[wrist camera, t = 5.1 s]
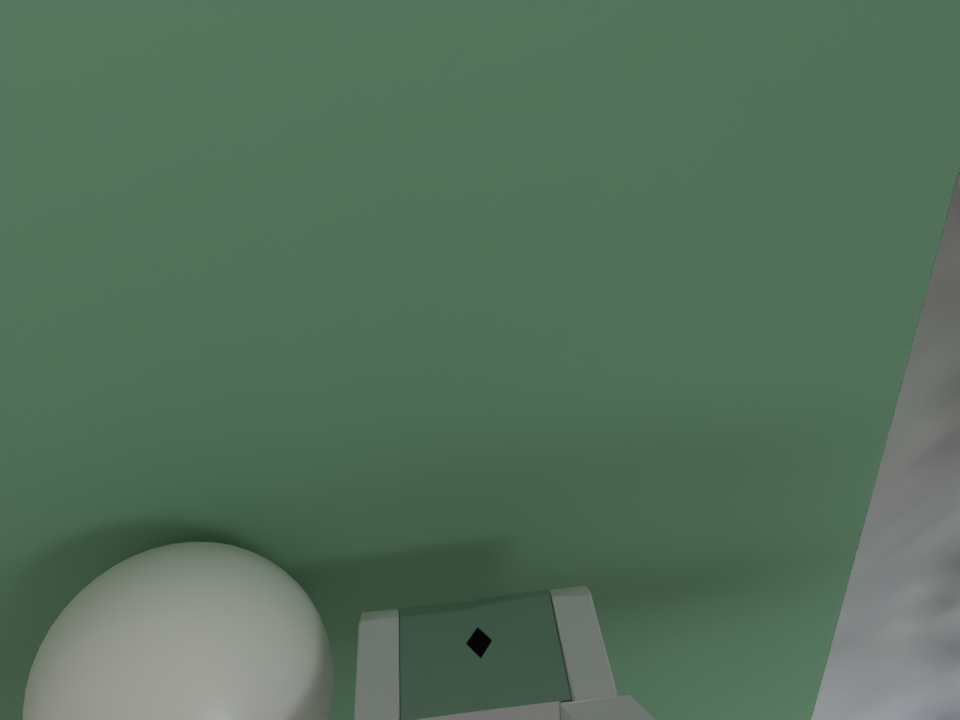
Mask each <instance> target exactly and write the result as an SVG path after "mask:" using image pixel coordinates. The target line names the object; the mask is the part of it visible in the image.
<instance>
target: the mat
mask: <svg viewBox="0 0 960 720" xmlns="http://www.w3.org/2000/svg"><path fill="white" fill-rule="evenodd" d="M959 169H960V0H0V720H23V705H24V697H25V690H26V686H27V682H28V678H29V674H30V671H31V667H32V665H33V662H34V660H35V657H36V655H37V652H38V650H39V648H40V646H41V644H42V642H43V640H44V638H45V637H46V635H47V633H48V631H49V629H50V628H51V626H52V625H53V623H54V622H55V621H56V619H57V618H58V616H59V615H60V614H61V612H62V611H63V610H64V608H65V607H66V606H67V605H68V604H69V603H70V602H71V601H72V600H73V599H74V598H75V596H76V595H77V594H78V593H79V592H80V591H82V590H83V589H84V588H85V587H86V586H87V585H89V584H90V583H91V582H92V581H93V580H94V579H96V578H97V577H98V576H100V575H101V574H103V573H104V572H106V571H107V570H109V569H110V568H112V567H113V566H115V565H117V564H119V563H120V562H122V561H124V560H126V559H128V558H130V557H132V556H134V555H137V554H139V553H142V552H145V551H147V550H150V549H153V548H157V547H161V546H165V545H169V544H175V543H184V542H214V543H221V544H228V545H233V546H236V547H240V548H243V549H247V550H249V551H251V552H254V553H256V554H258V555H260V556H262V557H265V558H266V559H268V560H270V561H271V562H273V563H274V564H276V565H277V566H279V567H280V568H282V569H283V570H284V571H285V572H287V573H288V574H289V575H290V576H291V577H292V578H293V579H294V580H295V581H296V582H297V583H298V584H299V585H300V586H301V587H302V588H303V590H304V591H305V592H306V594H307V595H308V596H309V598H310V599H311V601H312V602H313V604H314V606H315V607H316V609H317V611H318V613H319V615H320V617H321V620H322V622H323V625H324V628H325V630H326V633H327V636H328V640H329V644H330V649H331V654H332V662H333V691H332V702H331V707H330V712H329V717H328V720H354V714H355V693H356V672H357V651H358V630H359V622H360V618H361V614H362V612H371V611H380V610H389V609H398V608H400V609H401V608H406V607H417V606H427V605H437V604H447V603H458V602H468V601H475V599H481V598H488V597H496V596H503V595H510V594H517V593H525V592H532V591H539V590H546V589H547V590H548V592H549V590H553V589H561V588H569V587H577V586H585V585H586V586H587V588H588V589H589V591H590V592H591V596H592V600H593V604H594V607H595V611H596V615H597V619H598V623H599V626H600V630H601V634H602V638H603V641H604V645H605V649H606V653H607V656H608V660H609V664H610V668H611V671H612V675H613V679H614V683H615V687H616V690H617V694H618V695H628V694H630V695H631V696H632V697H633V698H634V699H635V700H636V701H637V702H638V703H639V704H640V705H641V706H642V707H643V708H644V709H645V710H646V711H648V712H649V713H650V714H651V715H652V716H653V717H654V718H655V719H656V720H811V718H812V714H813V710H814V706H815V703H816V699H817V695H818V692H819V688H820V684H821V681H822V677H823V673H824V669H825V666H826V662H827V658H828V655H829V651H830V647H831V643H832V640H833V636H834V632H835V629H836V625H837V621H838V618H839V614H840V610H841V606H842V603H843V599H844V595H845V592H846V588H847V584H848V580H849V577H850V573H851V569H852V566H853V562H854V558H855V555H856V551H857V547H858V543H859V540H860V536H861V532H862V529H863V525H864V521H865V517H866V514H867V510H868V506H869V503H870V499H871V495H872V491H873V488H874V484H875V480H876V477H877V473H878V469H879V466H880V462H881V458H882V454H883V451H884V447H885V443H886V440H887V436H888V432H889V428H890V425H891V421H892V417H893V414H894V410H895V406H896V403H897V399H898V395H899V391H900V388H901V384H902V380H903V377H904V373H905V369H906V365H907V362H908V358H909V354H910V351H911V347H912V343H913V339H914V336H915V332H916V328H917V325H918V321H919V317H920V314H921V310H922V306H923V302H924V299H925V295H926V291H927V288H928V284H929V280H930V276H931V273H932V269H933V265H934V262H935V258H936V254H937V251H938V247H939V243H940V239H941V236H942V232H943V228H944V225H945V221H946V217H947V213H948V210H949V206H950V202H951V199H952V195H953V191H954V188H955V184H956V180H957V176H958V173H959Z"/></svg>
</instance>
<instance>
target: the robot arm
mask: <svg viewBox="0 0 960 720" xmlns="http://www.w3.org/2000/svg"><path fill="white" fill-rule="evenodd" d="M354 720H656V719H655V718H654V717H653V716H652V715H651V714H650V713H649V712H648V711H646V710H645V709H644V708H643V707H642V706H641V705H640V704H639V703H638V702H637V701H636V700H635V699H634V698H633V697H632V696H631V695H630V694H628V695H618V694H617V690H616V687H615V683H614V679H613V675H612V671H611V668H610V664H609V660H608V656H607V653H606V649H605V645H604V641H603V638H602V634H601V630H600V626H599V623H598V619H597V615H596V611H595V607H594V604H593V600H592V596H591V592H590V591H589V589H588V588H587V586H586V585H585V586H577V587H569V588H561V589H553V590H549V592H548V590H547V589H546V590H539V591H532V592H525V593H517V594H510V595H503V596H496V597H488V598H481V599H475V601H468V602H458V603H447V604H437V605H427V606H417V607H406V608H401V609H400V608H398V609H389V610H380V611H371V612H362V614H361V618H360V622H359V630H358V651H357V672H356V693H355V714H354Z"/></svg>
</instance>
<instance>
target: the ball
mask: <svg viewBox="0 0 960 720" xmlns="http://www.w3.org/2000/svg"><path fill="white" fill-rule="evenodd" d="M332 691H333V662H332V654H331V649H330V644H329V640H328V636H327V633H326V630H325V628H324V625H323V622H322V620H321V617H320V615H319V613H318V611H317V609H316V607H315V606H314V604H313V602H312V601H311V599H310V598H309V596H308V595H307V594H306V592H305V591H304V590H303V588H302V587H301V586H300V585H299V584H298V583H297V582H296V581H295V580H294V579H293V578H292V577H291V576H290V575H289V574H288V573H287V572H285V571H284V570H283V569H282V568H280V567H279V566H277V565H276V564H274V563H273V562H271V561H270V560H268V559H266V558H265V557H262V556H260V555H258V554H256V553H254V552H251V551H249V550H247V549H243V548H240V547H236V546H233V545H228V544H221V543H214V542H184V543H175V544H169V545H165V546H161V547H157V548H153V549H150V550H147V551H145V552H142V553H139V554H137V555H134V556H132V557H130V558H128V559H126V560H124V561H122V562H120V563H119V564H117V565H115V566H113V567H112V568H110V569H109V570H107V571H106V572H104V573H103V574H101V575H100V576H98V577H97V578H96V579H94V580H93V581H92V582H91V583H90V584H89V585H87V586H86V587H85V588H84V589H83V590H82V591H80V592H79V593H78V594H77V595H76V596H75V598H74V599H73V600H72V601H71V602H70V603H69V604H68V605H67V606H66V607H65V608H64V610H63V611H62V612H61V614H60V615H59V616H58V618H57V619H56V621H55V622H54V623H53V625H52V626H51V628H50V629H49V631H48V633H47V635H46V637H45V638H44V640H43V642H42V644H41V646H40V648H39V650H38V652H37V655H36V657H35V660H34V662H33V665H32V667H31V671H30V674H29V678H28V682H27V686H26V690H25V697H24V705H23V720H328V717H329V712H330V707H331V702H332Z"/></svg>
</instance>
